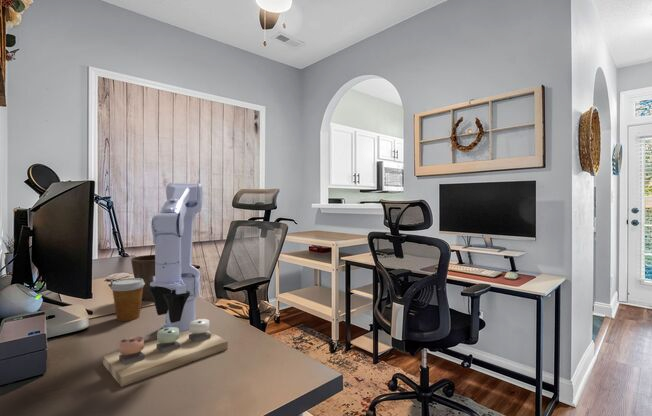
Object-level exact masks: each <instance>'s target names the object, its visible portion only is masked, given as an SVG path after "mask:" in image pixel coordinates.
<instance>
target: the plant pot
mask: <svg viewBox="0 0 652 416" xmlns="http://www.w3.org/2000/svg"><path fill="white" fill-rule="evenodd" d="M130 261H131V267H132V272H133V273H132V274H133V276H134V277H133V278H141V279H143V281H144V283H145V284H144V287H143V293H142V301H154V300H153V297H152V295H151V293H150V292H149V290H148V288H149V287H153V286H150V283H151V282H153V276H155V254H147V255H139V256H134V257H131V259H130Z"/></svg>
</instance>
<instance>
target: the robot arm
mask: <svg viewBox="0 0 652 416" xmlns="http://www.w3.org/2000/svg"><path fill="white" fill-rule="evenodd" d="M165 195H166V201H165V202H164V203H163V206H162V207H161V210H160V212H157V213H156V215H153V216H152V218H151V234H152V243H153V245H154V248H155V249H154V255H155V276H153V282H151V283H150V286H153V287H149V288H148V290H149V292H150V293H151V295H152V297H153V300H152V301H153V303H154V307H155V311H156V314H157V316H162V315H164V324H163V325H161V329H164V328H168V327H176V328H179V333H183V332H186V331H190V322H191V321H194V320H196V298H197V297H199V296H200V294H201V286H202V282H201V272H200V269H198V268H197V267H195V266H193V265H192V260H193V259H192V254H193V240H194V239H193V238H194V237H193V235H194V221H195V217H196V214H198V213H200V212H202V208H203V185H202V184H201V183H200V182H198V183H183V182H182V183H180V182H179V183H173V182H169V183H168V184H167V186H166V190H165Z"/></svg>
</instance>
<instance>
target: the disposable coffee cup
mask: <svg viewBox="0 0 652 416" xmlns="http://www.w3.org/2000/svg"><path fill="white" fill-rule="evenodd" d="M144 284H145V283H144V281H143V279H141V278H134V277H133V278H132V277H131V278H121V279H118V280H115V281H112V283H111V286H110V289H111V291H112V296H113V302H114V303H113V304H114V309H115V314H116V320H117V321H118V322H128V321H129V322H130V321H134V320H136V319H139V318H140V314H141V308H142V301H143V299H142V293H143V287H144Z"/></svg>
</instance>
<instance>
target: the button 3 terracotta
mask: <svg viewBox="0 0 652 416" xmlns="http://www.w3.org/2000/svg"><path fill="white" fill-rule="evenodd" d="M144 343H145V338H144V337H143V336H132V337H131V336H130V337H126V338H124V339H121V340H120V341H119V345H118V347H119V348H118V349H119V350H118V351H119V353H120V354H124V355H127V354H133V353H137V352H139V351H141V350H143V349H144Z"/></svg>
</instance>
